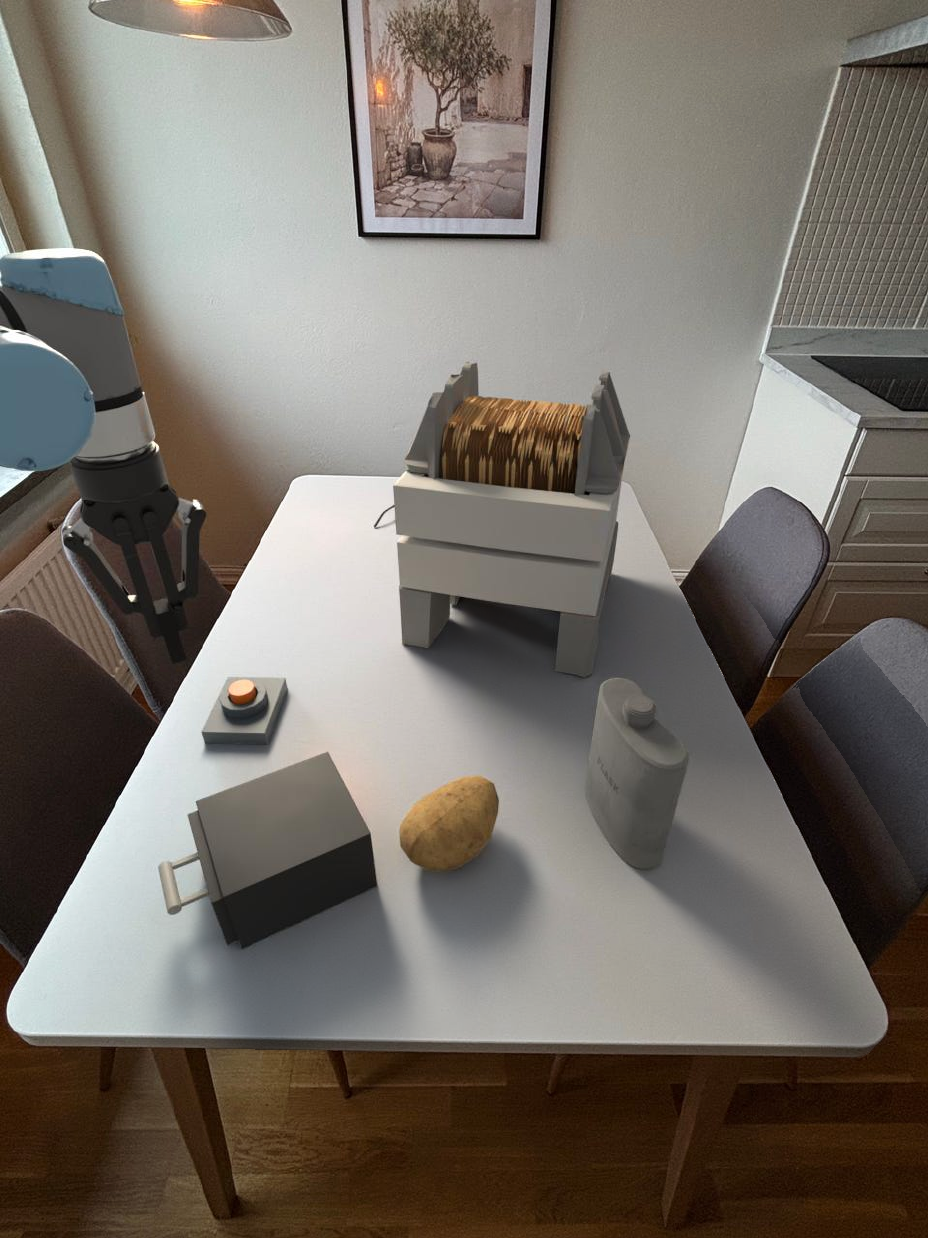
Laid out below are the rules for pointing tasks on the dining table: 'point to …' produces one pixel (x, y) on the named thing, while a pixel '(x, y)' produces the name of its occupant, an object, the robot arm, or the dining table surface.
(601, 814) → the flask
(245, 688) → the button
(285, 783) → the dark grey drawer cabinet
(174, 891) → the drawer
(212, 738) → the control block
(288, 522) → the dining table surface
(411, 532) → the transformer
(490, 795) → the potato
